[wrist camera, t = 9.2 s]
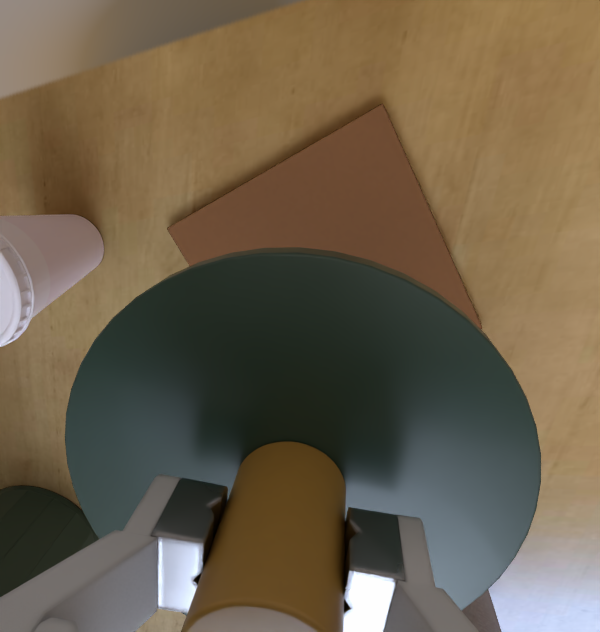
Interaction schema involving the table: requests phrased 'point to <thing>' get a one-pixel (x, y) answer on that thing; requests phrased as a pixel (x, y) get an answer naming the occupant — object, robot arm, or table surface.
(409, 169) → the cork mat
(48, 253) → the smoothie
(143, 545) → the robot arm
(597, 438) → the table surface
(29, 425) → the table surface
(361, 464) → the tin lid
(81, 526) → the tin
